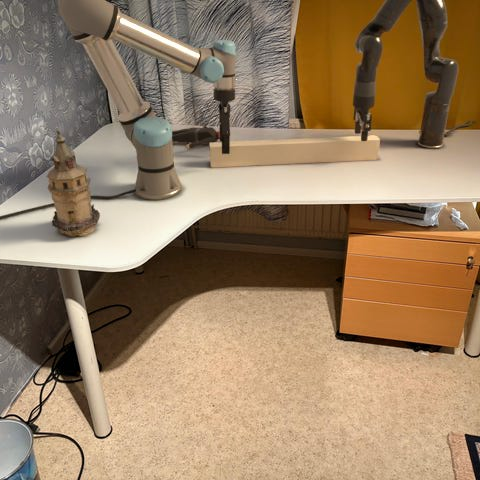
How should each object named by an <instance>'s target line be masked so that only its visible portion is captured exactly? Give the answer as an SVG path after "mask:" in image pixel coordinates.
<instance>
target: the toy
mask: <svg viewBox="0 0 480 480" xmlns="http://www.w3.org/2000/svg"><path fill="white" fill-rule="evenodd" d="M218 140H219V141H220V130H218V131H217V130H216V129H215V128H214V127H212V126H209V127H208V126H207V125H206V124H203V125H202V127H189V128H188V127H187V128H182V129H177V130H172V143H188V144H186V145H185V146H184V148H185V149H187V150H191V149H194V148H196V147H198V146H199V147H200V146H202V145H206V146H207V145H208V146H210V142H218Z"/></svg>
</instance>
